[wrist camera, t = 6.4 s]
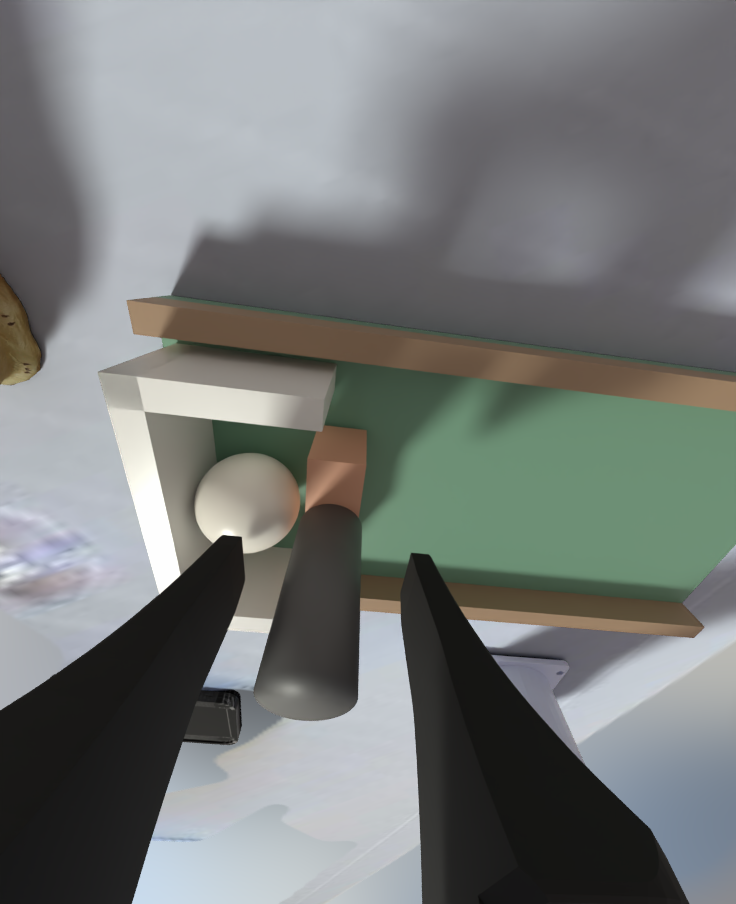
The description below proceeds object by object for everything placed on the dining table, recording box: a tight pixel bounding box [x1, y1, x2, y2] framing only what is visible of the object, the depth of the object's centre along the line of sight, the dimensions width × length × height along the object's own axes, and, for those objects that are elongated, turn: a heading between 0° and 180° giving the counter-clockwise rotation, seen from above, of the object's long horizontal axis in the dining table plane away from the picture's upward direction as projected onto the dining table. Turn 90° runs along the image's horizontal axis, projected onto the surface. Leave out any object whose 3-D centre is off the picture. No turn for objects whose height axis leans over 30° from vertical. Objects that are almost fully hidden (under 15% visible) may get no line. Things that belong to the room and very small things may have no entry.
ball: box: [194, 453, 300, 553], centre depth 13 cm, size 4×4×4 cm
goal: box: [98, 343, 337, 633], centre depth 13 cm, size 11×6×4 cm, turn 173°
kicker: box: [253, 425, 367, 721], centre depth 11 cm, size 6×2×8 cm, turn 173°
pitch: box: [127, 295, 736, 638], centre depth 15 cm, size 14×28×2 cm, turn 83°
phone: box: [50, 674, 242, 745], centre depth 27 cm, size 8×1×15 cm
